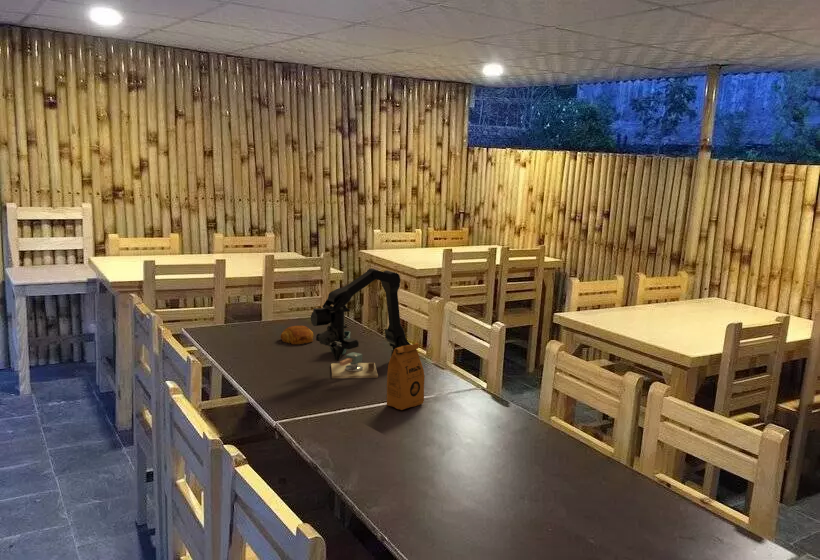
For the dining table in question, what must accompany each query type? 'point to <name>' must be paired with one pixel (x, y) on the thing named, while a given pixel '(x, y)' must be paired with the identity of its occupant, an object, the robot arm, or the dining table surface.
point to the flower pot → (345, 339)
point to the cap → (352, 358)
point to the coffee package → (405, 378)
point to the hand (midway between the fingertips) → (336, 361)
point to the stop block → (371, 366)
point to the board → (340, 372)
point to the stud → (353, 368)
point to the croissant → (297, 335)
